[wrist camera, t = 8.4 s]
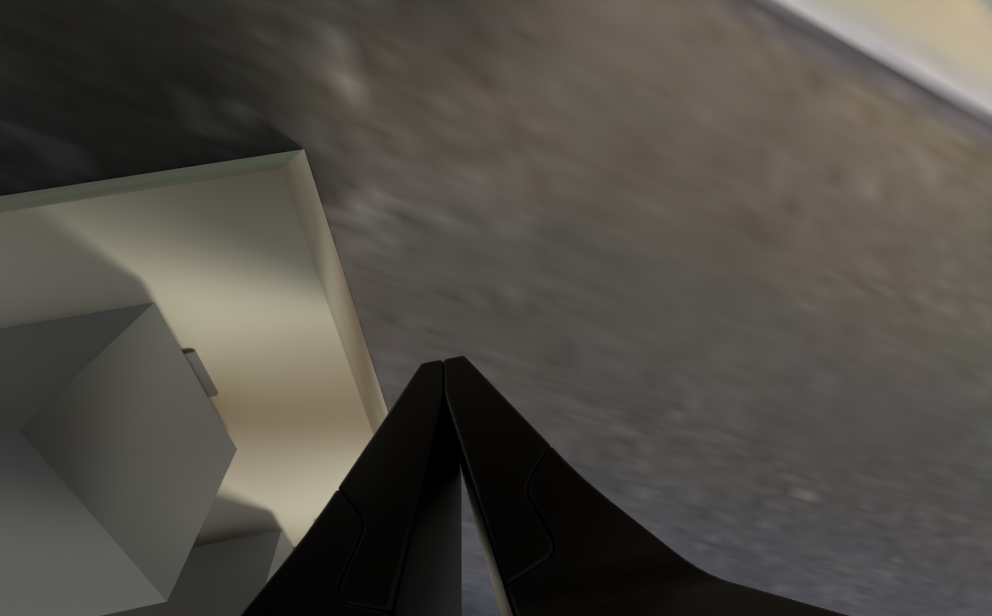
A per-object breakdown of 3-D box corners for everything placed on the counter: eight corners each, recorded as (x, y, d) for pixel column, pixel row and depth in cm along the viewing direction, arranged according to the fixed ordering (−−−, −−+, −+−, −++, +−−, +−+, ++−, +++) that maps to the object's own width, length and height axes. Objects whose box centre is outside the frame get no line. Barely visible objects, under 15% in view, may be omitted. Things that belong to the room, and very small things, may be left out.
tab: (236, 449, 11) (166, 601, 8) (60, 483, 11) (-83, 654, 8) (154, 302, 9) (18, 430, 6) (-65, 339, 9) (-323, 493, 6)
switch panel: (462, 647, 21) (466, 703, 19) (0, 752, 20) (-42, 823, 18) (303, 149, 10) (279, 169, 8) (-738, 310, 9) (-1035, 376, 7)
